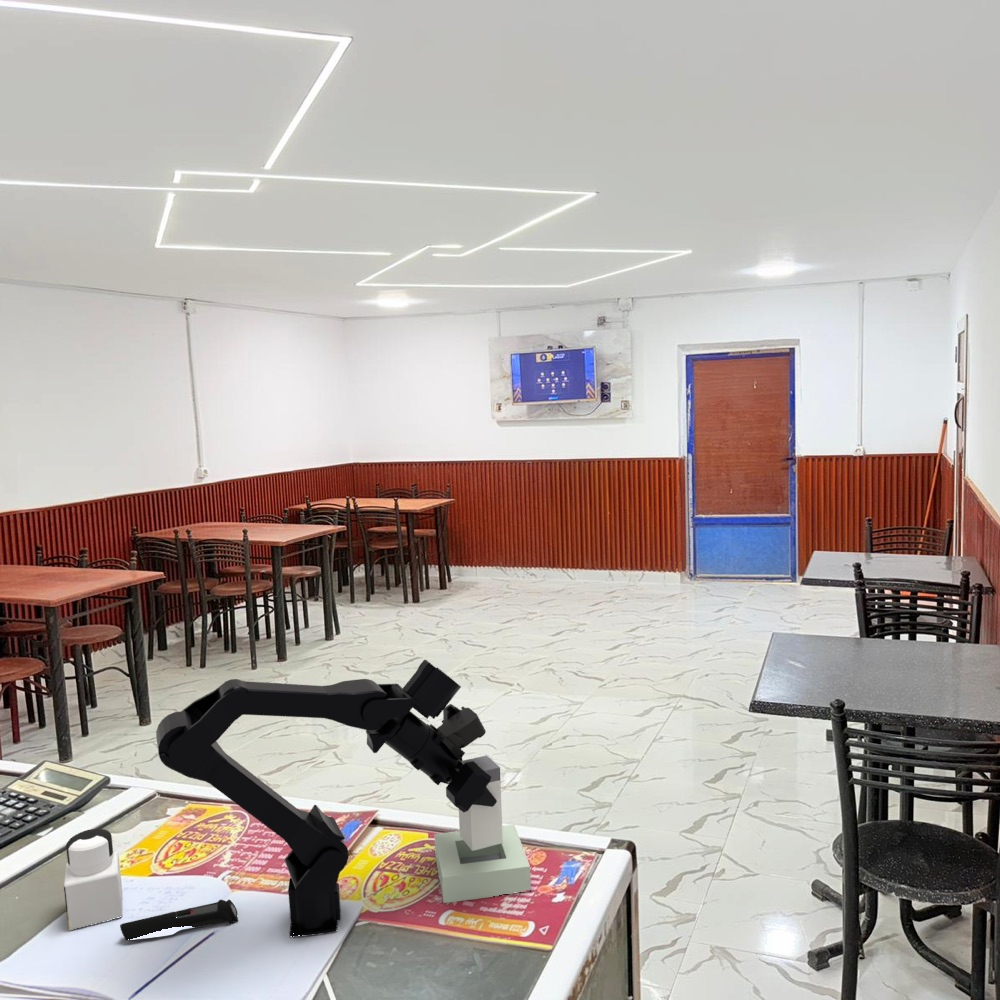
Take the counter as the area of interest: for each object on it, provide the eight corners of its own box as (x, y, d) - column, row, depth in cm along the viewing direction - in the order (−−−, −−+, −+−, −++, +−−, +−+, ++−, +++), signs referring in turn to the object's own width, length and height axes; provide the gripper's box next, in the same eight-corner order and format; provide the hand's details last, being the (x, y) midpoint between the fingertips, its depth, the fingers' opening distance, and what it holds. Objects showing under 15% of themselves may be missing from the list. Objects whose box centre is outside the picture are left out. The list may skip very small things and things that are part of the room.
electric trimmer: (123, 936, 124) (121, 916, 124) (237, 911, 129) (235, 890, 129) (121, 952, 121) (118, 931, 120) (238, 925, 125) (236, 904, 125)
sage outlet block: (443, 903, 128) (442, 877, 128) (435, 857, 141) (434, 833, 141) (531, 891, 130) (530, 866, 130) (515, 847, 143) (514, 824, 143)
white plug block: (472, 850, 131) (469, 774, 130) (459, 836, 136) (456, 761, 134) (502, 842, 133) (500, 767, 132) (489, 828, 138) (486, 755, 136)
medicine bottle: (70, 906, 132) (62, 830, 130) (122, 893, 134) (115, 819, 133) (68, 932, 125) (59, 852, 124) (122, 918, 128) (115, 840, 126)
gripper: (475, 716, 122) (548, 776, 128) (429, 679, 139) (495, 733, 144) (423, 783, 120) (500, 840, 125) (383, 736, 136) (452, 789, 142)
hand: (487, 796), depth 134 cm, fingers closed on white plug block, 5 cm apart
